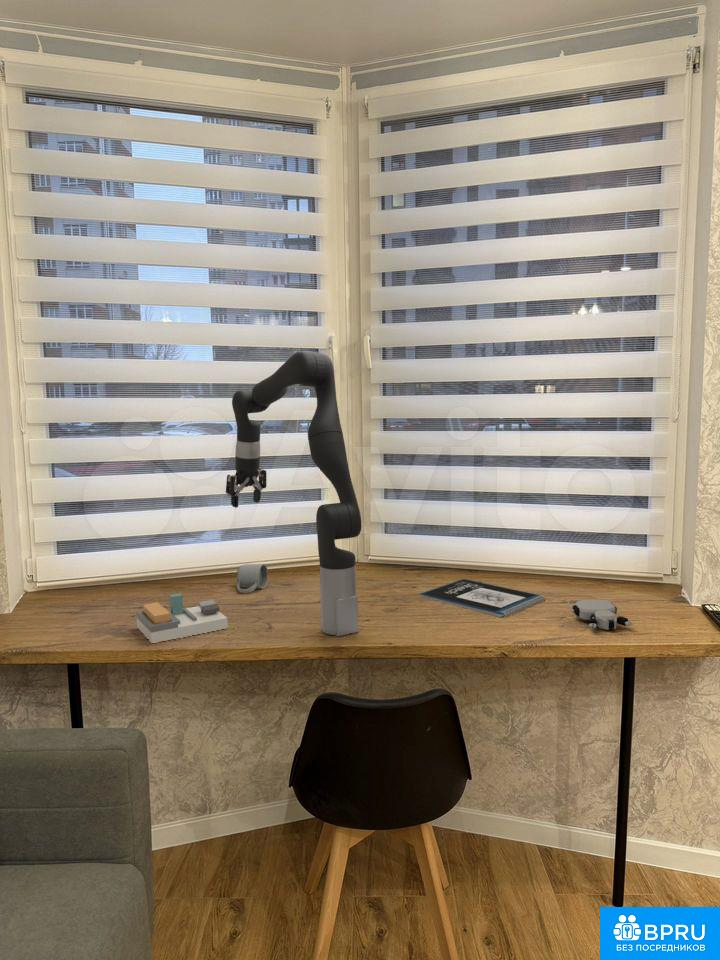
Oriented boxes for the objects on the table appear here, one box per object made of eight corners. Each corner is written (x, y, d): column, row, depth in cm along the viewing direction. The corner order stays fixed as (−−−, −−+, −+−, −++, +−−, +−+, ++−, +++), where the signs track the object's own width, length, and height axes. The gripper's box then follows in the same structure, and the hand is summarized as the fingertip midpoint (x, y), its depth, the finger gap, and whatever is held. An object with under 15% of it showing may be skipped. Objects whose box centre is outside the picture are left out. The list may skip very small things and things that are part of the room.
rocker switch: (219, 614, 195) (219, 607, 195) (204, 617, 193) (204, 610, 193) (212, 606, 199) (213, 599, 199) (198, 608, 197) (198, 602, 197)
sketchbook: (463, 582, 232) (463, 576, 232) (546, 602, 211) (546, 595, 211) (419, 597, 217) (419, 590, 217) (503, 620, 196) (504, 612, 196)
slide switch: (183, 613, 196) (182, 595, 195) (173, 615, 194) (172, 597, 193) (181, 611, 197) (180, 593, 197) (170, 613, 196) (169, 595, 195)
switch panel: (227, 628, 192) (227, 612, 191) (151, 644, 182) (150, 626, 181) (209, 614, 204) (208, 598, 203) (137, 628, 194) (136, 611, 193)
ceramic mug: (245, 583, 234) (243, 560, 233) (269, 584, 232) (267, 561, 231) (231, 593, 224) (230, 569, 223) (256, 595, 222) (255, 570, 220)
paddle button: (170, 620, 185) (170, 613, 185) (154, 623, 183) (154, 616, 183) (158, 609, 194) (158, 602, 194) (143, 612, 192) (142, 604, 192)
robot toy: (635, 635, 184) (609, 612, 199) (636, 618, 184) (610, 596, 198) (588, 638, 183) (565, 614, 198) (589, 621, 182) (566, 598, 197)
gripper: (237, 460, 216) (235, 512, 221) (273, 454, 227) (271, 503, 231) (221, 454, 221) (220, 505, 226) (257, 448, 231) (255, 497, 236)
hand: (245, 504), depth 229 cm, fingers open, 8 cm apart
